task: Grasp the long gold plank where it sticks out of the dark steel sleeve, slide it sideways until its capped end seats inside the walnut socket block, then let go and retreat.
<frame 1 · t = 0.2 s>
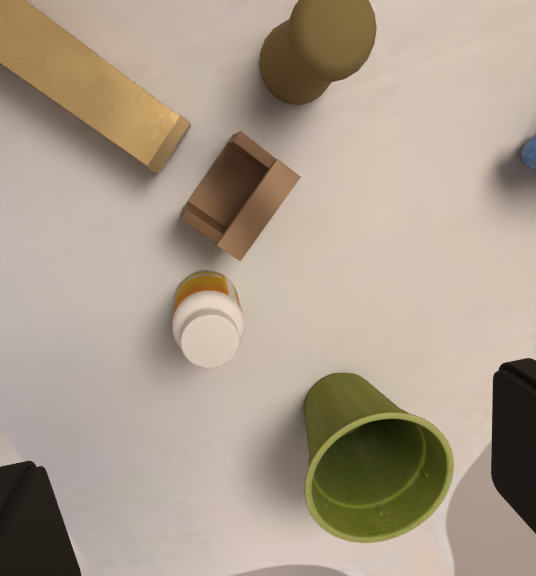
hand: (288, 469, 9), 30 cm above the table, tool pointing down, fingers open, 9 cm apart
plant pot: (336, 402, 45), on the table
walnut socket: (232, 190, 37), on the table
long gold plank: (17, 35, 29), point 3 cm above the table, slide at 0.0 cm
supplement bottle: (206, 297, 40), on the table
cork: (297, 63, 35), on the table
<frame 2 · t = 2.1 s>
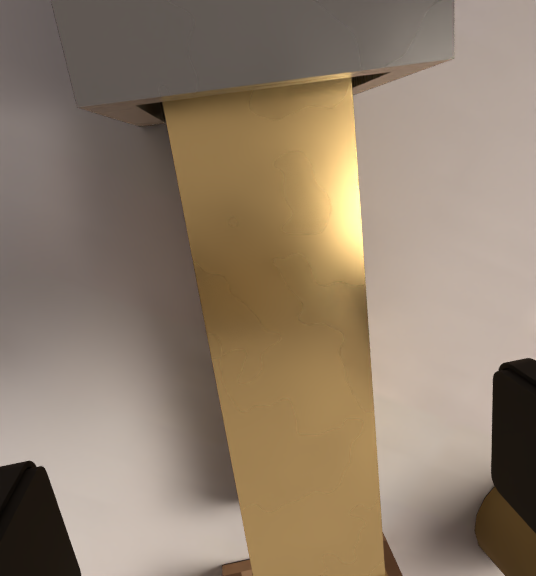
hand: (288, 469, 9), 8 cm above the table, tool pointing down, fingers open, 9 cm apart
steel sleeve: (226, 4, 13), on the table
long gold plank: (266, 221, 12), point 3 cm above the table, slide at 0.0 cm
cork: (533, 511, 21), on the table
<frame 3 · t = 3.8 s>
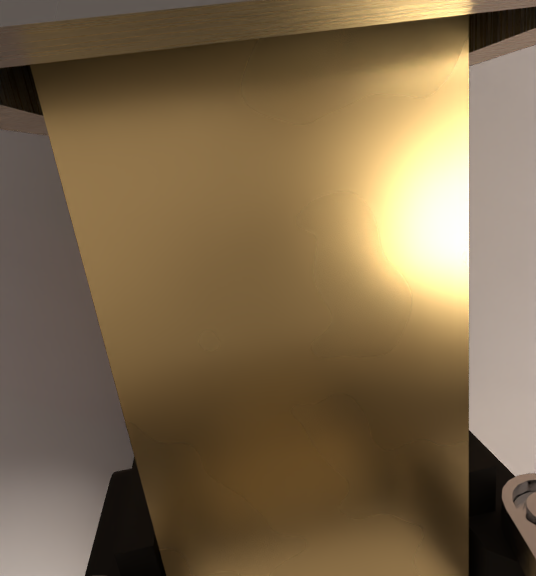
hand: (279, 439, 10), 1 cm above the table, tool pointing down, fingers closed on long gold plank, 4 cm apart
long gold plank: (272, 305, 7), point 3 cm above the table, slide at 0.0 cm, touching gripper
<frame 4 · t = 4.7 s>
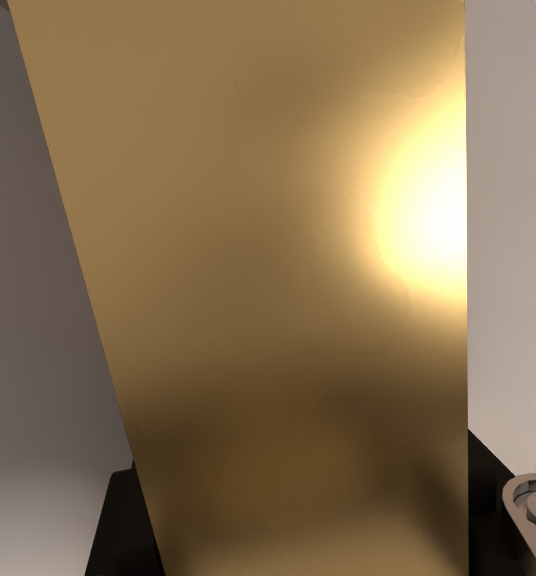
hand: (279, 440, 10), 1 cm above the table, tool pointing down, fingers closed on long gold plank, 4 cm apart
long gold plank: (270, 306, 7), point 3 cm above the table, slide at 1.9 cm, touching gripper
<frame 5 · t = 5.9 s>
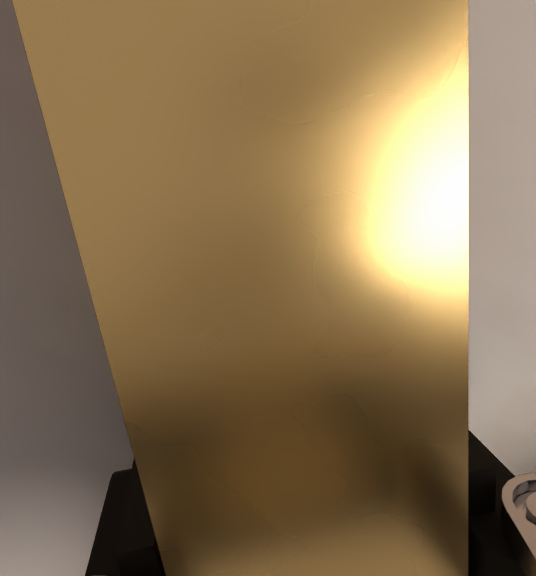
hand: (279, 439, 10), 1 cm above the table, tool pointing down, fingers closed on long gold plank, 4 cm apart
long gold plank: (271, 305, 7), point 3 cm above the table, slide at 6.5 cm, touching gripper
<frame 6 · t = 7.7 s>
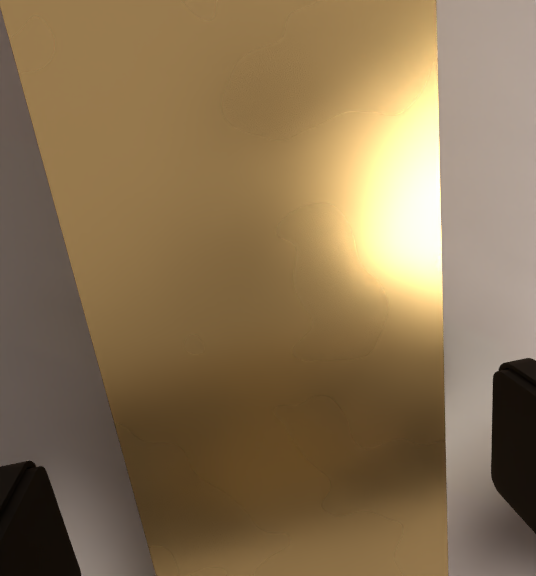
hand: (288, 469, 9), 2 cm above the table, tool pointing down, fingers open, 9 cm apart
long gold plank: (258, 310, 7), point 3 cm above the table, slide at 6.5 cm
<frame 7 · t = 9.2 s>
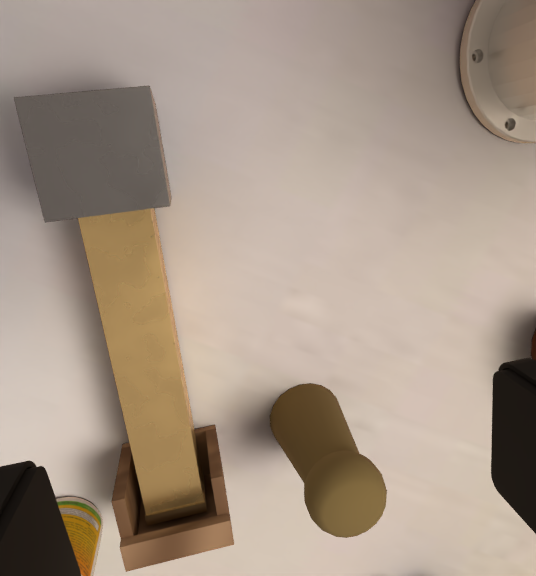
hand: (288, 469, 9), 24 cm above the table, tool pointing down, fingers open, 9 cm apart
steel sleeve: (114, 157, 29), on the table
walnut socket: (174, 461, 36), on the table
long gold plank: (147, 349, 30), point 3 cm above the table, slide at 6.5 cm
supplement bottle: (68, 521, 36), on the table
cork: (304, 415, 38), on the table
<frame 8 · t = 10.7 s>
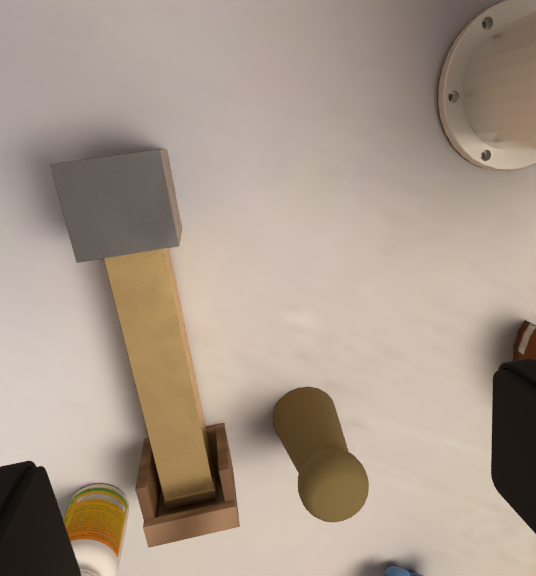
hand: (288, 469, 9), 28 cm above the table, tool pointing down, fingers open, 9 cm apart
steel sleeve: (132, 197, 34), on the table
walnut socket: (189, 454, 41), on the table
long gold plank: (163, 361, 35), point 3 cm above the table, slide at 6.5 cm
grapes: (413, 567, 50), on the table
supplement bottle: (99, 504, 42), on the table
cork: (303, 414, 42), on the table
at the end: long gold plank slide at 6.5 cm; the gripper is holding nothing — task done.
